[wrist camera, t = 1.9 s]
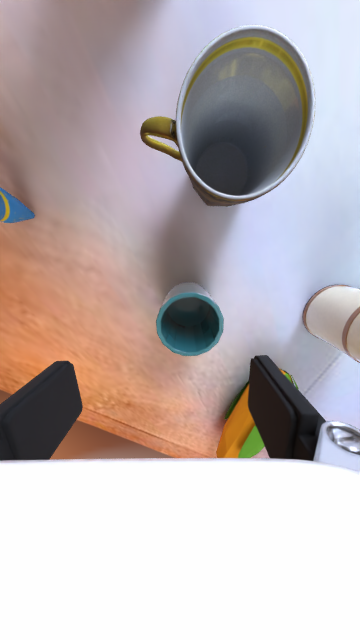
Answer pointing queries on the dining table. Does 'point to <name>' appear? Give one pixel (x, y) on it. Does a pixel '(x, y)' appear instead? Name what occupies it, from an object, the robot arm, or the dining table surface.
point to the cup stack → (336, 318)
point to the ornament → (13, 209)
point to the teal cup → (189, 320)
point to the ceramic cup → (240, 115)
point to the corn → (241, 429)
